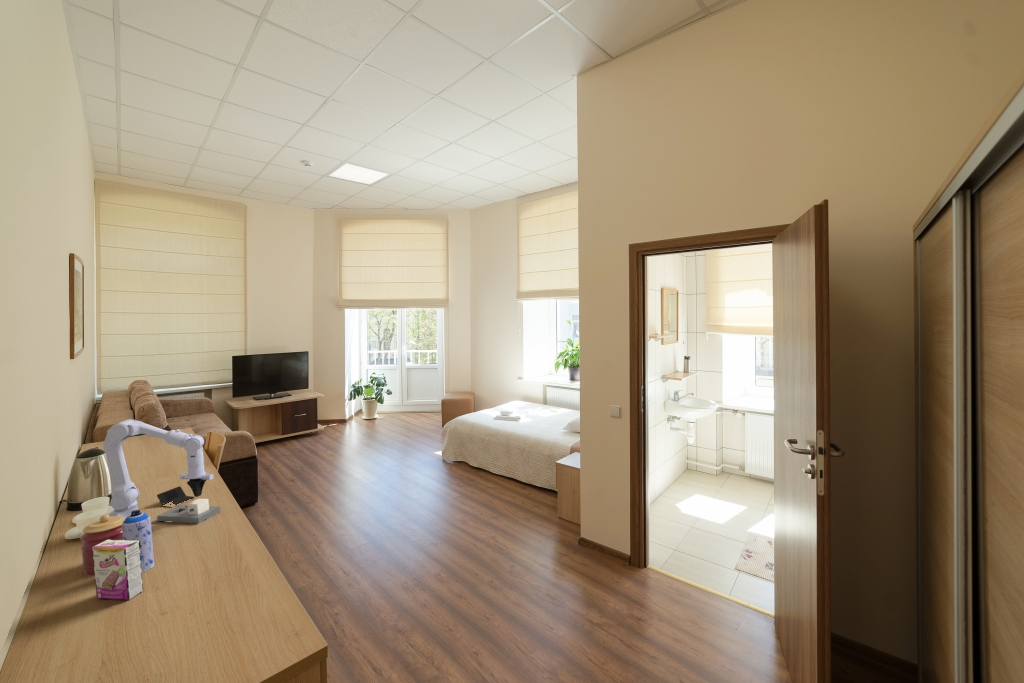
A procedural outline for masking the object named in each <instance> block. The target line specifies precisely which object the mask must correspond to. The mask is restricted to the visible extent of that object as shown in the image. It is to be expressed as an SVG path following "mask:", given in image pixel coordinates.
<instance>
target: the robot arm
mask: <svg viewBox="0 0 1024 683" xmlns="http://www.w3.org/2000/svg"><path fill="white" fill-rule="evenodd" d="M138 435H146V436H149V437H150V436H151V437H154V438H159V439H163V440H164V442H165V443H166V444H170V445H172V446H175V447H179V448H183V450H185V451H186V462H187V464H186V465H187V473H182V474H179V479H180V480H182V481H183V480H188V481H186V484H187V485H188V487H189V488H190V489H191V491H192V493H193V497H195V498H198V497H201V496H202V493H203V490H204V489H203V488H204V486H205V484H206V482H207V481H211V480H214V478H215V477H214V474H213V473H208V472H206V471H205V460H204V459H205V458H204V451H203V450H204V449H203V448H204V447H203V445H204V444H205V439H204V437H203V436H201V435H200V434H193V433H186V432H183V431H181V429H178V428H177V429H176V430H175V429H171V430H170V431H169V430H166V429H162V428H159V427H156V426H154V425H151V424H148V423H145V422H143V421H140V420H135V419H133V418H128V419H124V420H123V421H121V422H118V423H115V424H113V425H111V427H109V428H108V429H107V431H106V435H105V438H104V441H103V444H102V445H103V446H102V447H103V450H104V454H105V459H106V462H107V467H108V469H109V475H110V479H111V481H112V485H113V487H112V490H111V493H110V495H111V500H110V506H111V507H112V508H113V509H114V510H113V511H112V512H110V513H108V515H109V516H110V517H111V516H120V517H124V518H127V517H129V516H130V515H131V511H134V510H139V505H138V499H139V497H140V491H139V490H140V489H138V488H137V487H136V484H135V483H134V482H133V481H132V480H131V477H130V474H129V470H128V465H127V462H126V458H125V454H124V450H123V446H122V445H123V443H124V442H125V441H126V440H127V439H128V438H129V437H133V436H138Z"/></svg>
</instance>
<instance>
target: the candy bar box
mask: <svg viewBox="0 0 1024 683" xmlns="http://www.w3.org/2000/svg"><path fill="white" fill-rule="evenodd" d="M92 550H93V562H94V572H95V574H94V580H95V594H96V599H97V600H114V601H116V600H117V601H118V600H119V601H130V600H132V599H133V597H134V598H135V597H136V596H138V595H139V594H141V593H143V592H144V586H143V585H144V584H143V575H142V574H143V572H142V571H141V559H140V546H139V541H137V540H105V541H103V542H101V543H99V544H97V545H95V546H93V547H92ZM140 592H141V593H140ZM137 594H138V595H137Z"/></svg>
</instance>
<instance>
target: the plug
mask: <svg viewBox="0 0 1024 683" xmlns="http://www.w3.org/2000/svg"><path fill="white" fill-rule="evenodd" d="M187 505H188V514H191V515H199V514H201V513H203V512H205V511H207V510H209V505H210V504H209V498H197V499H195V500H193V501H191V502H189V503H187Z"/></svg>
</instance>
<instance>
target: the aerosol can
mask: <svg viewBox="0 0 1024 683" xmlns="http://www.w3.org/2000/svg"><path fill="white" fill-rule="evenodd" d="M151 518H152V517H151V516H150V515H149V514H147V513H146V512H145V513H144V512H141V510H140V509H138V510H134V511H131V515H130V516H129V517H127V518H126V519H125V520H124V521H123V522H122V532H123V540H137V541H139V546H140V559H141V571H142V573H144V572H143V571H145V572H147V571H149V570H151V569H152V568H154V567H153V566H155V565H154V564H156V563H155V557H154V545H153V534H152V533H153V532H152V519H151ZM150 568H151V569H150ZM148 569H149V570H148ZM146 570H147V571H146Z"/></svg>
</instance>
